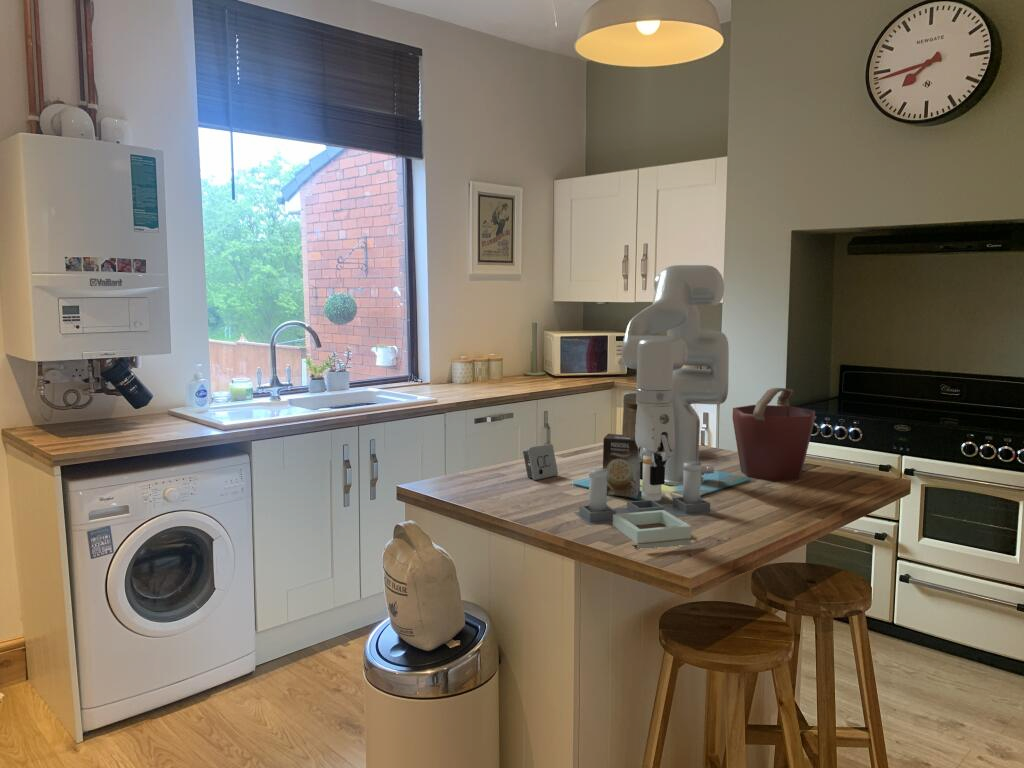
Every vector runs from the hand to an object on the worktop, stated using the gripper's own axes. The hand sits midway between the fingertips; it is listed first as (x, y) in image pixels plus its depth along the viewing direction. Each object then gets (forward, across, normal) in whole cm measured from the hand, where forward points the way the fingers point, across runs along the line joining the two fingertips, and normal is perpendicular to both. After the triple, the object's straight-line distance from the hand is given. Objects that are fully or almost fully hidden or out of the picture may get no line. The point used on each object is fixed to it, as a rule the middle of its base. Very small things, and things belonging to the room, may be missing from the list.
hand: (652, 481), depth 166 cm
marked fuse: (+4, 0, 0) cm, 4 cm away
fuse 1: (+11, +13, +7) cm, 19 cm away
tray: (+13, 0, 0) cm, 13 cm away
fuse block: (+13, +13, -5) cm, 19 cm away
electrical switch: (+13, +58, +6) cm, 60 cm away
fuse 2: (+11, +13, -17) cm, 24 cm away
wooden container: (+12, +83, -39) cm, 93 cm away
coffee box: (+13, +31, -7) cm, 34 cm away
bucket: (+12, +42, -60) cm, 75 cm away
